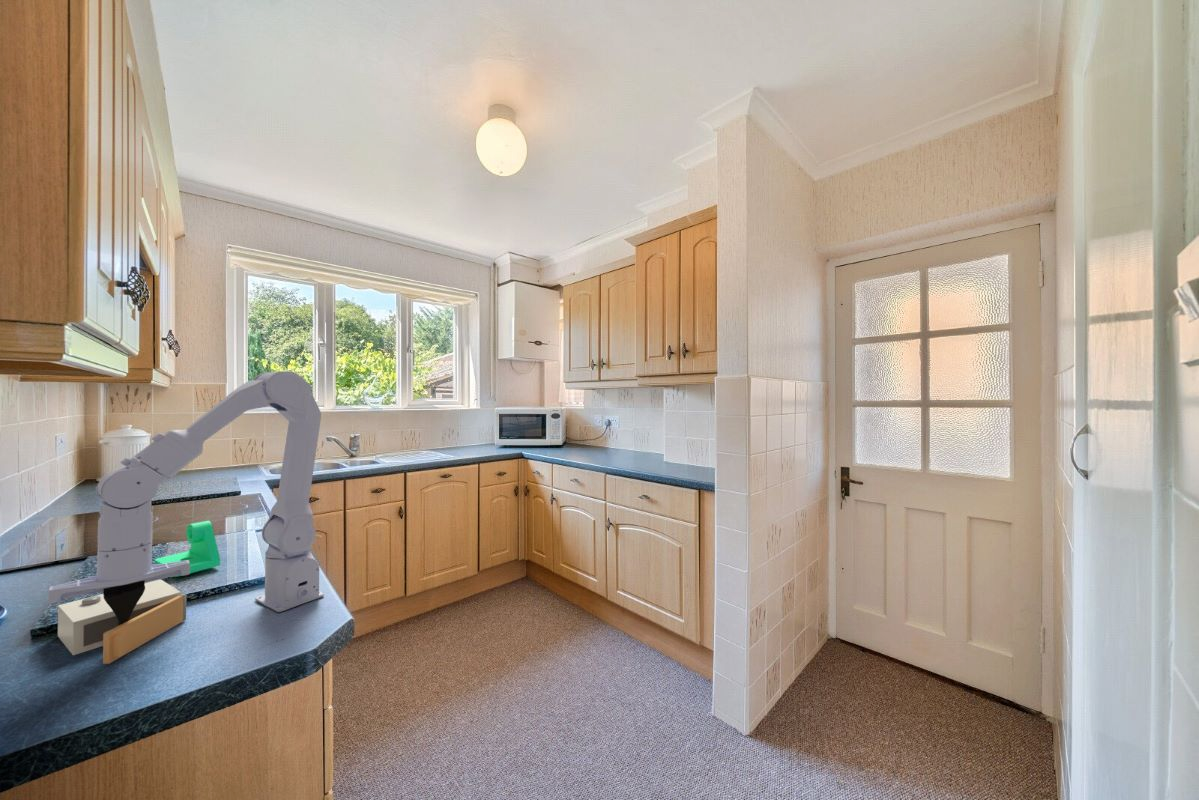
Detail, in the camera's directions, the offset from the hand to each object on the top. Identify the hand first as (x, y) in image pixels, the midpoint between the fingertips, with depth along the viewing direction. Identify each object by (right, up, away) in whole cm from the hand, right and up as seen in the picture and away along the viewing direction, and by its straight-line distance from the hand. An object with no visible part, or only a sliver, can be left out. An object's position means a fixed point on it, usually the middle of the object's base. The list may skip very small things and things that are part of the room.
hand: (123, 633), depth 67 cm
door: (+2, -2, +2) cm, 4 cm away
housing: (-7, -2, +6) cm, 9 cm away
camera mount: (-19, -2, +30) cm, 36 cm away
